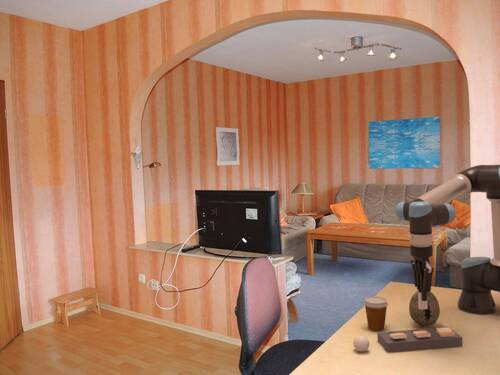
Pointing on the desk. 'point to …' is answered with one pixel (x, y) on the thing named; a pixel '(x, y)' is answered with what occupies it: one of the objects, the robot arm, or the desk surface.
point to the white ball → (361, 343)
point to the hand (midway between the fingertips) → (423, 308)
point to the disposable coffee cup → (376, 312)
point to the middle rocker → (421, 334)
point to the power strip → (417, 341)
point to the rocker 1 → (398, 335)
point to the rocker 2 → (445, 332)
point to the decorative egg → (424, 310)
